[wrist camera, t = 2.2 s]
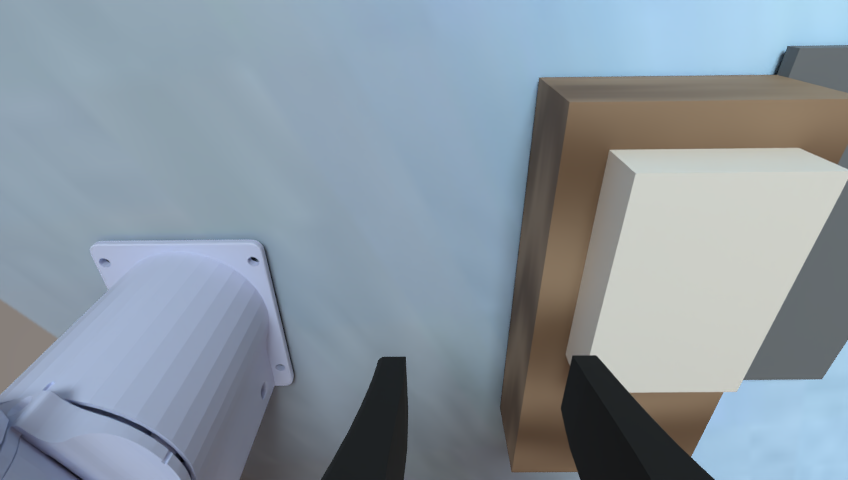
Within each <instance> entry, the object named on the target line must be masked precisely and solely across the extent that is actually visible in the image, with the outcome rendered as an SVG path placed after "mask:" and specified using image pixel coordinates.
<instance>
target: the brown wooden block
mask: <svg viewBox="0 0 848 480" xmlns="http://www.w3.org/2000/svg"><path fill="white" fill-rule="evenodd" d="M847 145H848V93H846V92H842V91H838V90H834V89H830V88H827V87H823V86H819V85H815V84H811V83H807V82H803V81H799V80H795V79H791V78H788V77H784V76H780V75H714V76H630V77H545V78H539V85H538V93H537V102H536V110H535V119H534V127H533V136H532V144H531V152H530V161H529V169H528V178H527V186H526V195H525V203H524V212H523V220H522V228H521V237H520V245H519V254H518V262H517V271H516V279H515V288H514V296H513V304H512V313H511V321H510V330H509V338H508V347H507V355H506V364H505V372H504V380H503V389H502V397H501V406H500V409H501V415H502V421H503V426H504V432H505V437H506V443H507V449H508V454H509V460H510V465H511V471H512V472H578V471H577V468H576V465H575V462H574V459H573V456H572V454H571V451H570V448H569V443H568V439H567V435H566V431H565V426H564V421H563V417H562V412H561V404H562V400H563V395H564V391H565V386H566V382H567V377H568V373H569V369H570V365H569V363H568V360H567V357H566V350H567V345H568V341H569V336H570V331H571V327H572V322H573V317H574V313H575V308H576V303H577V299H578V294H579V289H580V285H581V280H582V275H583V271H584V266H585V261H586V257H587V252H588V247H589V243H590V238H591V233H592V229H593V224H594V219H595V215H596V210H597V205H598V201H599V196H600V191H601V187H602V182H603V177H604V173H605V168H606V163H607V159H608V154H609V150H640V149H733V148H800V149H803V150H805V151H807V152H809V153H812V154H814V155H816V156H819V157H821V158H823V159H825V160H828V161H830V162H832V163H835V164H837V165H838V163H839V161H840V159H841V157H842V155H843V153H844V151H845V149H846V147H847ZM630 394H631V395H632V396H633V397H634V399H635V400H636V401H637V402H638V403H639V404H640V405H641V406H642V407H643V408H644V410H645V411H646V412H647V413H648V414H649V415H650V416H651V417H652V418H653V419H654V420H655V421H656V422H657V423H658V424H659V425H660V427H661V428H662V429H663V430H664V431H665V432H666V433H667V434H668V435H669V436H670V437H671V438H672V439H673V440H674V441H675V442H676V443H677V444H678V445H679V446H680V447H681V448H682V449H683V450H684V451H685V452H686V453H687V454H688V455H689V456H690V457H691V456H692V454H693V452H694V450H695V448H696V446H697V444H698V442H699V440H700V438H701V436H702V434H703V432H704V430H705V428H706V426H707V424H708V422H709V420H710V418H711V416H712V414H713V412H714V410H715V408H716V406H717V404H718V402H719V400H720V398H721V396H722V394H723V392H648V393H630Z"/></svg>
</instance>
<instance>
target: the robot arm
mask: <svg viewBox="0 0 848 480" xmlns="http://www.w3.org/2000/svg"><path fill="white" fill-rule="evenodd" d="M90 253H91V255H92V257H93V260H94V262H95V264H96V266H97V268H98V270H99V272H100V274H101V276H102V278H103V280H104V282H105V285H106V287H107V289H108V291H107V292H106V293H105V294H104V295H103V296H102V297H101V298H100V299H99V300H98V301H97V302H96V303H95V304H93V305H92V306H91V307H90V308H89V309H88V310H87V311H86V312H85V313H84V314H83V315H82V316H81V317H80V318H79V319H78V320H77V321H76V322H75V323H74V324H73V325H72V326H71V327H70V328H69V329H68V330H67V331H66V332H65V333H63V334H62V335H61V336H60V337H59V338H58V339H57V340H56V341H55V342H54V343H53V344H52V345H51V346H50V347H49V348H48V349H47V350H46V351H45V352H44V353H43V354H42V355H41V356H40V357H39V358H38V359H37V360H36V361H35V362H34V363H33V364H31V366H29V367H28V368H27V369H26V370H25V371H24V372H23V373H22V374H21V375H20V376H19V377H18V378H17V379H16V380H15V381H14V382H13V383H12V384H11V385H10V386H9V387H8V388H7V389H6V390H5V391H4V392H2V394H0V480H239V479H240V477H241V475H242V472H243V469H244V466H245V464H246V461H247V458H248V456H249V453H250V450H251V448H252V445H253V442H254V440H255V437H256V434H257V432H258V429H259V426H260V424H261V421H262V418H263V416H264V413H265V410H266V408H267V405H268V402H269V399H270V397H271V394H272V391H273V389H274V386H286V385H290V384H291V383H292V382H293V379H294V374H293V369H292V365H291V361H290V357H289V352H288V348H287V344H286V340H285V335H284V331H283V327H282V323H281V318H280V314H279V310H278V305H277V301H276V297H275V293H274V288H273V284H272V280H271V276H270V271H269V267H268V263H267V259H266V254H265V250H264V247H263V245H262V244H261V243H260V242H258V241H256V240H146V241H98V242H96V243H95V244H94V245H93V246H91V248H90ZM251 257H255V258H257V259H258V262H256V261H253V260H252V259H251ZM105 259H107V260H109V262H110V263H109V262H108V261H106V260H105ZM280 364H282V365H280ZM561 412H562V417H563V421H564V426H565V431H566V435H567V439H568V443H569V448H570V451H571V454H572V456H573V459H574V462H575V465H576V468H577V471H578V474H579V477H580V480H715V479H713V478H712V477H711V476H710V475H709V474H708V473H707V472H706V471H705V470H704V469H703V468H702V467H701V466H699V465H698V464H697V463H696V462H695V461H694V460H693V459H692V458H691V457H690V456H689V455H688V454H687V453H686V452H685V451H684V450H683V449H682V448H681V447H680V446H679V445H678V444H677V443H676V442H675V441H674V440H673V439H672V438H671V437H670V436H669V435H668V434H667V433H666V432H665V431H664V430H663V429H662V428H661V427H660V425H659V424H658V423H657V422H656V421H655V420H654V419H653V418H652V417H651V416H650V415H649V414H648V413H647V412H646V411H645V410H644V408H643V407H642V406H641V405H640V404H639V403H638V402H637V401H636V400H635V399H634V397H633V396H632V395H631V394H630V393H629V392H628V391H627V390H626V388H625V387H624V386H623V385H622V384H621V383H620V382H619V381H618V379H617V378H616V377H615V376H614V375H613V374H612V373H611V371H610V370H609V369H608V368H607V367H606V366H605V364H604V363H603V362H602V361H601V360H600V359H599V358H598V357H597V356H596V355H572V360H571V364H570V369H569V373H568V377H567V382H566V386H565V391H564V395H563V400H562V404H561ZM407 434H408V397H407V375H406V357H382V358H380V359H379V360H378V363H377V367H376V370H375V373H374V376H373V378H372V381H371V384H370V386H369V389H368V391H367V393H366V396H365V398H364V400H363V402H362V405H361V407H360V409H359V411H358V413H357V415H356V417H355V419H354V421H353V423H352V425H351V427H350V429H349V431H348V433H347V435H346V437H345V439H344V440H343V442H342V444H341V446H340V448H339V449H338V451H337V453H336V455H335V457H334V458H333V460H332V462H331V464H330V465H329V467H328V469H327V470H326V472H325V474H324V475H323V477H322V479H321V480H404V472H405V463H406V454H407Z"/></svg>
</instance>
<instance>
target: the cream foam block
mask: <svg viewBox="0 0 848 480" xmlns="http://www.w3.org/2000/svg"><path fill="white" fill-rule="evenodd" d="M847 180H848V169H846V168H844V167H841V166H839V165H837V164H835V163H832V162H830V161H828V160H825V159H823V158H821V157H819V156H816V155H814V154H812V153H809V152H807V151H805V150H803V149H800V148H733V149H640V150H609V154H608V159H607V163H606V168H605V173H604V177H603V182H602V187H601V191H600V196H599V201H598V205H597V210H596V215H595V219H594V224H593V229H592V233H591V238H590V243H589V247H588V252H587V257H586V261H585V266H584V271H583V275H582V280H581V285H580V289H579V294H578V299H577V303H576V308H575V313H574V317H573V322H572V327H571V331H570V336H569V341H568V345H567V350H566V357H567V360H568V363H569V365H570V364H571V360H572V355H596V356H597V357H598V358H599V359H600V360H601V361H602V362H603V363H604V364H605V366H606V367H607V368H608V369H609V370H610V371H611V373H612V374H613V375H614V376H615V377H616V378H617V379H618V381H619V382H620V383H621V384H622V385H623V386H624V387H625V388H626V390H627V391H628V392H629V393H648V392H737V390H738V388H739V386H740V385H741V383H742V381H743V379H744V377H745V375H746V373H747V371H748V369H749V367H750V366H751V364H752V362H753V360H754V358H755V356H756V354H757V352H758V350H759V348H760V346H761V345H762V343H763V341H764V339H765V337H766V335H767V333H768V331H769V329H770V327H771V325H772V324H773V322H774V320H775V318H776V316H777V314H778V312H779V310H780V308H781V306H782V304H783V303H784V301H785V299H786V297H787V295H788V293H789V291H790V289H791V287H792V285H793V283H794V282H795V280H796V278H797V276H798V274H799V272H800V270H801V268H802V266H803V264H804V262H805V261H806V259H807V257H808V255H809V253H810V251H811V249H812V247H813V245H814V243H815V241H816V240H817V238H818V236H819V234H820V232H821V230H822V228H823V226H824V224H825V222H826V220H827V219H828V217H829V215H830V213H831V211H832V209H833V207H834V205H835V203H836V201H837V199H838V198H839V196H840V194H841V192H842V190H843V188H844V186H845V184H846V182H847Z"/></svg>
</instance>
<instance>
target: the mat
mask: <svg viewBox="0 0 848 480" xmlns="http://www.w3.org/2000/svg"><path fill="white" fill-rule="evenodd" d="M777 75H780V76H784V77H788V78H791V79H795V80H799V81H803V82H807V83H811V84H815V85H819V86H823V87H827V88H830V89H834V90H838V91H842V92H846V93H848V45H834V46H788V47H787V50H786V52H785V55H784V57H783V60H782V63H781V65H780V68H779V71H778V73H777ZM838 165H839V166H841V167H844V168H846V169H848V145H847V147H846V149H845V151H844V153H843V155H842V157H841V159H840V161H839V163H838ZM847 340H848V180H847V182H846V184H845V186H844V188H843V190H842V192H841V194H840V196H839V198H838V199H837V201H836V203H835V205H834V207H833V209H832V211H831V213H830V215H829V217H828V219H827V220H826V222H825V224H824V226H823V228H822V230H821V232H820V234H819V236H818V238H817V240H816V241H815V243H814V245H813V247H812V249H811V251H810V253H809V255H808V257H807V259H806V261H805V262H804V264H803V266H802V268H801V270H800V272H799V274H798V276H797V278H796V280H795V282H794V283H793V285H792V287H791V289H790V291H789V293H788V295H787V297H786V299H785V301H784V303H783V304H782V306H781V308H780V310H779V312H778V314H777V316H776V318H775V320H774V322H773V324H772V325H771V327H770V329H769V331H768V333H767V335H766V337H765V339H764V341H763V343H762V345H761V346H760V348H759V350H758V352H757V354H756V356H755V358H754V360H753V362H752V364H751V366H750V367H749V369H748V371H747V373H746V375H745V377H744V379H743V380H777V379H822V378H823V377H824V375H825V374H826V372H827V371H828V369H829V368H830V366H831V364H832V363H833V361H834V360H835V358H836V357H837V355H838V354H839V352H840V351H841V349H842V348H843V346H844V345H845V343H846V342H847Z"/></svg>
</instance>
